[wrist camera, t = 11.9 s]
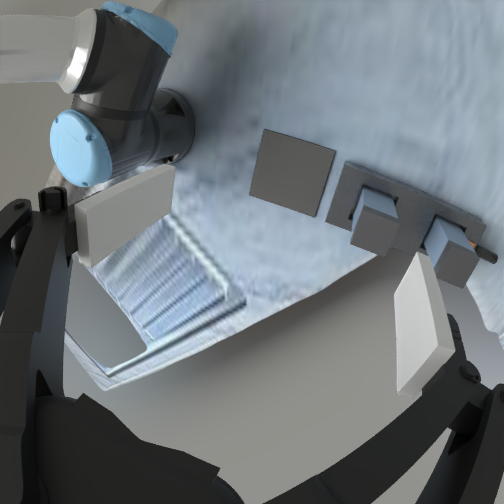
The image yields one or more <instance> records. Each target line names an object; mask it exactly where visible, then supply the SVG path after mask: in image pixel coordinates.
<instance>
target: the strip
mask: <svg viewBox="0 0 504 504" xmlns="http://www.w3.org/2000/svg"><path fill="white" fill-rule="evenodd" d="M363 186H367V187H369V188H372V189H375V190H377V191H380V192H382V193H385V194H387V195H390V196H392V198H393V201H394V205H395V209H396V212H397V216H398V220H399V227H398V229H397V231H396V234H395V236H394V238H393V240H392V242H391V245H390V247H392V248H395V249H397V250H400V251H402V252H405V253H407V254H410V255H413V256H415V254H416V252H419V253H422V254H424V255H426V256H428V254H427V251H426V248H425V245H424V242H423V239H424V237H425V235H426V233H427V230H428V228H429V226H430V224H431V222H432V220H433V217H434V215H437V216H440V217H442V218H444V219H446V220H448V221H450V222H453V223H455V224H457V225H459V226H460V228H461V230H462V231H463V233H464V234H465V236H466V237H467V239H468V241H469V242H470V244H471V246H472V247H473V249H474V251H475V252H476V254H477V256H478V257H480V258H482V259H484V260H486V261H488V262H490V263H492V264H495V263H496V262H497V259H498V256H497V255H496V254H494V253H493V252H491V251H489V250H487V249H485V248H483V247H481V246H479V245H477V244H478V242H479V240H480V238H481V236H482V234H483V232H484V230H485V228H486V225H485V224H484V223H483V221H482V220H481V219H479V218H477V217H475V216H473V215H471V214H469V213H467V212H465V211H463V210H461V209H459V208H457V207H455V206H453V205H451V204H449V203H447V202H445V201H442V200H440V199H438V198H436V197H434V196H432V195H429V194H427V193H425V192H423V191H420V190H418V189H416V188H413V187H411V186H409V185H406V184H404V183H402V182H399V181H397V180H394V179H392V178H389V177H387V176H384V175H382V174H379V173H377V172H374V171H372V170H369V169H366V168H364V167H361V166H358V165H356V164H353V163H350V162H347V161H345V164H344V167H343V170H342V173H341V176H340V179H339V182H338V185H337V188H336V191H335V194H334V197H333V200H332V203H331V206H330V209H329V212H328V215H327V218H326V221H325V222H327V223H330V224H332V225H335V226H338V227H340V228H343V229H346V230H349V231H351V232H352V223H353V213H354V210H355V208H356V205H357V202H358V199H359V197H360V194H361V191H362V188H363Z"/></svg>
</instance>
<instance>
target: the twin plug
mask: <svg viewBox="0 0 504 504" xmlns="http://www.w3.org/2000/svg"><path fill="white" fill-rule="evenodd" d="M423 242H424V245H425V248H426V251H427V254H428V256H429V257H430V259H431V262H432V265H433V268H434V272H435V275H436V278H438V279H441V280H443V281H446V282H448V283H450V284H453V285H456V286H457V287H460V288H463V287H464V286H465V284H466V282H467V281H468V279H469V277H470V275H471V274H472V272H473V270H474V269H475V267H476V265H477V263H478V261H479V260H480V259H479V257H478V256H477V254H476V252H475V251H474V249H473V247H472V246H471V244H470V242H469V241H468V239H467V237H466V236H465V234H464V233H463V231H462V230H461V228H460V226H459V225H457V224H455V223H453V222H450V221H448V220H446V219H444V218H442V217H440V216H437V215H434V217H433V220H432V222H431V224H430V226H429V228H428V230H427V233H426V235H425V237H424V239H423Z"/></svg>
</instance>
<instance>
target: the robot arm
mask: <svg viewBox="0 0 504 504" xmlns="http://www.w3.org/2000/svg"><path fill="white" fill-rule="evenodd" d="M177 36H178V31H177V28H176V27H175V26H174V25H173V24H172V23H170V22H169V21H167V20H165V19H162V18H160V17H158V16H156V15H153V14H151V13H148V12H146V11H143V10H140V9H137V8H132V7H130V6H127V5H125V4H121V3H118V2H113V1H107V2H105V4H104V5H102V6H101V10H98V9H90V8H89V9H86V10H85V11H83V12H82V13H80V14H79V15H77V16H76V17H73V18H71V17H60V16H43V15H0V83H14V82H15V83H16V82H57V83H58V84H59V85H60V86H61V87H62V89H63V90H64V91H65V92H66V93H75V94H74V98H73V102H72V106H71V109H68V110H65V111H63V112H62V113H61V114H59V116H58V117H57V118H56V119H55V121H54V122H53V124H52V128H51V134H50V145H51V151H52V155H53V158H54V160H55V162H56V164H57V167H58V169H59V170H60V172H61V173H62V174H63V176H64V177H65V178H66V179H67V180H68V181H70V182H71V183H73V184H74V185H77V186H80V187H90V186H93V185H96V184H98V183H104V182H106V181H108V180H110V179H112V178H114V177H116V176H119V175H121V174H123V173H125V172H128V171H130V170H132V169H134V168H137V167H139V166H150V167H155V168H152V169H150V170H147V171H145V172H143V173H140V174H138V175H136V176H134V177H131V178H129V179H127V180H125V181H122V182H120V183H118V184H116V185H114V186H111V187H109V188H107V189H105V190H102V191H98V192H96V193H94V194H92V195H91V196H88V197H86V198H85V199H82V200H80V201H78V202H76V203H74V204H72V205H70V206H68V207H67V190H66V189H65V188H63V187H56V186H55V187H49V188H45V189H43V190H41V191H40V192H39V193H38V197H39V208H40V212H38V211H32V207H31V201H30V200H27V199H16V200H15V201H12V202H10V203H9V204H8V205H7V206H5V207H4V209H2V210H1V211H0V316H1V315H2V312H3V311H4V313H3V317H2V321H1V325H0V504H244V502H243V500H242V499H241V497H240V496H239V495H238V493H237V492H236V491H235V490H234V489H233V488H232V487H231V486H230V485H229V484H228V483H227V482H225V481H224V480H223V479H221V478H220V477H219V476H217V474H218V472H219V470H220V468H219V467H217V466H214V465H212V464H210V463H207V462H205V461H203V460H200V459H198V458H196V457H194V456H192V455H189V454H187V453H185V452H183V451H179V450H175V449H171V448H167V447H163V446H159V445H156V444H152V443H149V442H145V441H142V440H140V439H139V438H138V437H137V436H135V435H134V434H133V433H132V432H131V431H130V430H129V429H128V428H127V427H126V426H125V425H124V424H123V423H122V422H121V421H120V420H119V419H118V418H117V417H116V416H115V415H114V414H113V413H112V412H111V411H110V410H108V409H106V408H105V407H103V406H102V405H100V404H99V403H97V402H96V401H94V400H93V399H91V398H90V397H88V396H87V395H86V394H84V393H83V394H82V395H81V396H80V397H79V398H78V399H74V398H70V397H65V396H64V391H63V352H64V335H65V321H66V320H65V319H66V310H67V301H68V292H69V284H70V277H71V270H72V263H73V259H72V254H73V253H75V252H76V251H78V256H79V262H80V263H82V264H84V265H86V266H88V267H89V268H92V267H94V266H95V265H96V264H98V263H99V262H100V261H102V260H103V259H104V258H106V257H107V256H108V255H110V254H111V253H113V252H114V251H115V250H117V249H118V248H119V247H121V246H122V245H124V244H125V243H126V242H128V241H129V240H131V239H132V238H134V237H135V236H136V235H138V234H139V233H141V232H142V231H144V230H145V229H146V228H148V227H149V226H151V225H152V224H154V223H155V222H157V221H158V220H160V219H161V218H163V217H164V216H166V215H167V214H169V213H170V212H171V204H172V195H173V186H174V178H175V170H176V167H175V166H171V165H170V164H172V163H175V162H177V161H178V160H180V159H181V158H182V157H183V156H184V155H185V154H186V153H187V152H188V150H189V149H190V147H191V145H192V142H193V139H194V134H195V121H194V116H193V113H192V110H191V108H190V106H189V104H188V103H187V101H186V100H185V99H184V98H183V97H182V96H181V95H179V94H178V93H176V92H174V91H172V90H169V89H157V88H158V85H159V82H160V80H161V77H162V74H163V72H164V69H165V67H166V64H167V62H168V60H169V58H171V56H172V50H173V47H174V44H175V42H176V39H177ZM11 241H12V245H13V247H12V248H11ZM394 304H395V317H396V318H395V320H396V341H397V343H396V344H397V394H398V395H402V396H405V397H409V398H412V399H413V398H414V397H415V396H416V395H417V394H418V393H419V392H420V391H421V390H422V396H421V397H420V398H419V399H418V400H416V401H415V402H414V403H413V404H412V405H411V406H410V407H409V408H407V409H406V410H405V411H404V412H403V413H402V414H401V415H399V416H398V417H397V418H396V419H395V420H394V421H392V422H391V423H390V424H389V425H387V426H386V427H385V428H384V429H382V430H381V431H380V432H379V433H377V434H376V435H375V436H374V437H372V438H371V439H369V440H368V441H367V442H365V443H364V444H363V445H362V446H360V447H359V448H357V449H356V450H354V451H353V452H352V453H350V454H349V455H347V456H346V457H345V458H343V459H341V460H340V461H339V462H337V463H336V464H334V465H332V466H331V467H329V468H328V469H326V470H325V471H323V472H321V473H320V474H318V475H315V476H313V477H311V478H310V479H308V480H306V481H304V482H303V483H301V484H299V485H297V486H296V487H294V488H292V489H290V490H289V491H287V492H285V493H283V494H281V495H279V496H277V497H275V498H273V499H271V500H269V501H267V502H265V503H263V504H371V503H372V502H373V501H375V500H376V499H377V498H378V497H379V496H380V495H382V494H383V493H384V492H385V491H386V490H387V489H388V488H389V487H391V486H392V485H393V484H394V483H395V482H396V481H397V480H398V479H399V478H400V477H401V476H402V475H403V474H404V473H406V472H407V471H408V469H410V468H411V467H412V466H413V465H414V463H415V462H417V460H418V459H419V458H420V457H421V456H422V455H423V454H424V453H425V452H426V451H427V450H428V449H429V448H430V446H432V444H433V443H434V442H435V441H436V440H437V439H438V437H439V436H440V435H441V434H442V433H443V432H444V431H445V429H446V428H447V427H448V428H450V429H451V430H452V431H451V434H450V436H449V438H448V441H447V443H446V445H445V448H444V450H443V452H442V454H441V456H440V458H439V460H438V462H437V464H436V466H435V468H434V471H433V473H432V474H431V476H430V478H429V480H428V482H427V484H426V486H425V487H424V489H423V491H422V493H421V495H420V496H419V498H418V500H417V502H416V503H415V504H494V501H495V498H496V495H497V492H498V489H499V486H500V482H501V479H502V475H503V472H504V384H498V385H497V386H496V387H495V388H494V389H493V390H490V389H488V388H487V387H486V386H484V385H483V384H481V383H480V382H481V377H480V373H479V371H478V370H477V368H476V367H475V366H474V365H473V364H472V363H471V362H470V361H467V360H466V355H465V351H464V346H463V343H462V341H461V340H462V338H461V334H460V331H459V327H458V324H457V322H456V320H455V319H454V318H453V316H452V315H451V314H448V313H446V309H445V305H444V302H443V298H442V295H441V291H440V288H439V285H438V281H437V278H436V275H435V272H434V268H433V265H432V262H431V259H430V257H429V256H426V255H424V254H422V253H419V252H416V254H415V256H414V258H413V260H412V263H411V264H410V266H409V268H408V270H407V272H406V274H405V275H404V277H403V279H402V281H401V283H400V285H399V286H398V288H397V290H396V292H395V294H394Z"/></svg>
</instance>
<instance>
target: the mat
mask: <svg viewBox="0 0 504 504" xmlns="http://www.w3.org/2000/svg"><path fill="white" fill-rule="evenodd" d="M334 154H335V151H334V150H331V149H328V148H325V147H322V146H319V145H316V144H313V143H310V142H306V141H303V140H300V139H297V138H293V137H290V136H287V135H283V134H280V133H276V132H273V131H269V130H265V129H264V132H263V136H262V140H261V145H260V149H259V153H258V158H257V162H256V166H255V171H254V175H253V179H252V184H251V188H250V192H249V195H250V196H253V197H257V198H260V199H262V200H265V201H268V202H271V203H274V204H277V205H280V206H283V207H286V208H289V209H292V210H295V211H297V212H300V213H303V214H306V215H309V216H312V217H314V216H315V213H316V210H317V207H318V204H319V201H320V198H321V195H322V192H323V189H324V186H325V183H326V179H327V176H328V173H329V170H330V167H331V163H332V160H333V157H334Z"/></svg>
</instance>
